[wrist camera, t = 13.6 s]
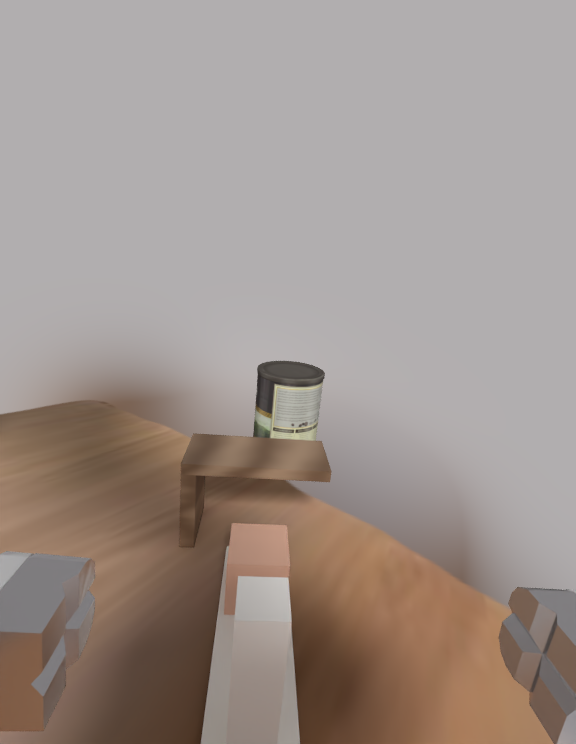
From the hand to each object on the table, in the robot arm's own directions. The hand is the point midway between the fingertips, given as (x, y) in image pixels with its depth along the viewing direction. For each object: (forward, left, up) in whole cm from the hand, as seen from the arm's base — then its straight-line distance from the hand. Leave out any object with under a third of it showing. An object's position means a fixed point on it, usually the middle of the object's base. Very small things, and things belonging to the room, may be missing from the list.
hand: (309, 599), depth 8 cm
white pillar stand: (0, +19, -23) cm, 30 cm away
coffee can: (+4, +52, -24) cm, 57 cm away
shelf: (0, +33, -23) cm, 40 cm away
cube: (0, +22, -22) cm, 31 cm away
